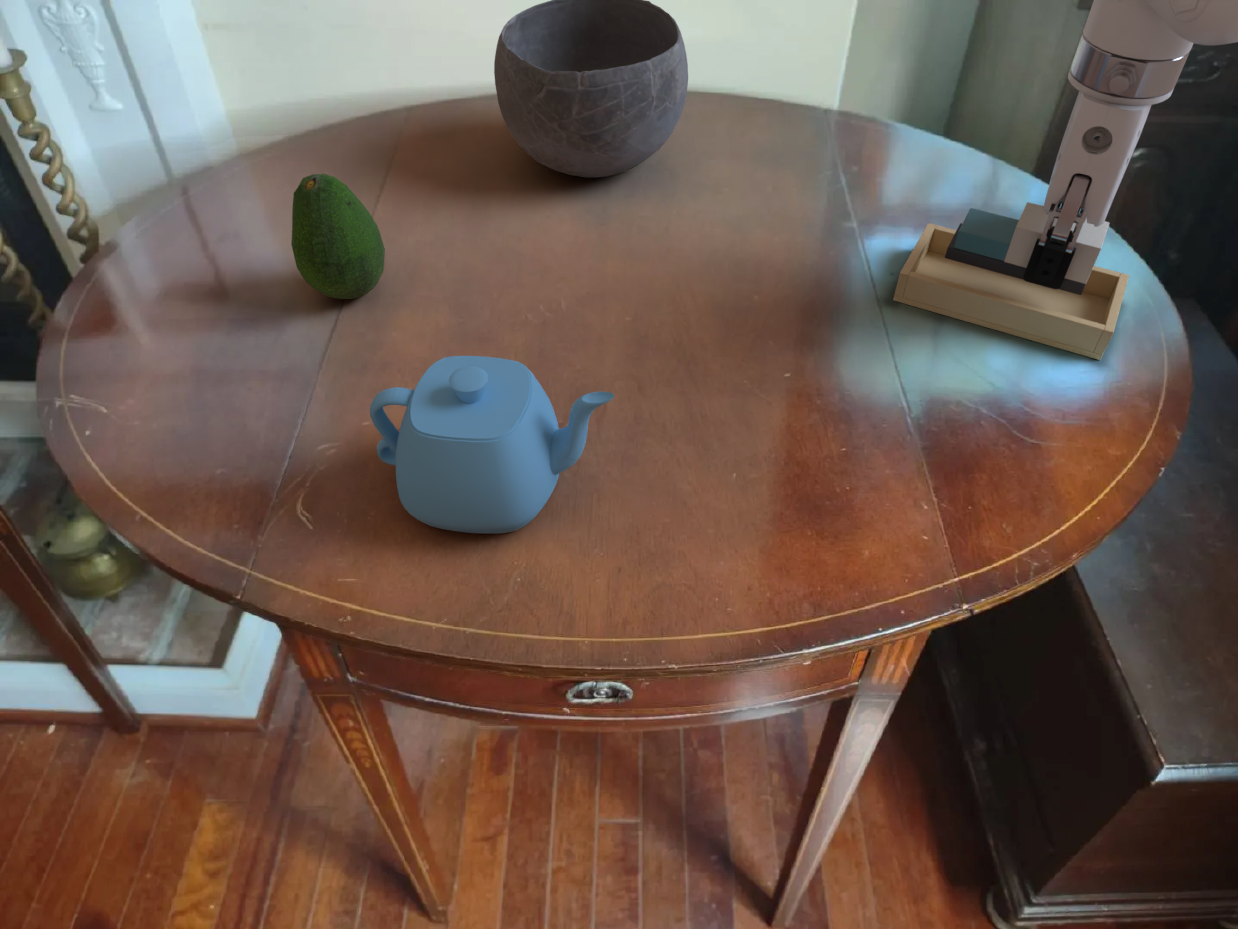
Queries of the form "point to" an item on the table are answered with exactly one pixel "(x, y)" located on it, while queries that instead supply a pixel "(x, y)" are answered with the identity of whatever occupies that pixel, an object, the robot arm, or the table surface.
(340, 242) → the fruit
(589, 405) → the teapot
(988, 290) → the wooden tray
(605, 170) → the bowl
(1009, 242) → the two-tone stepped block
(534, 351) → the table surface
